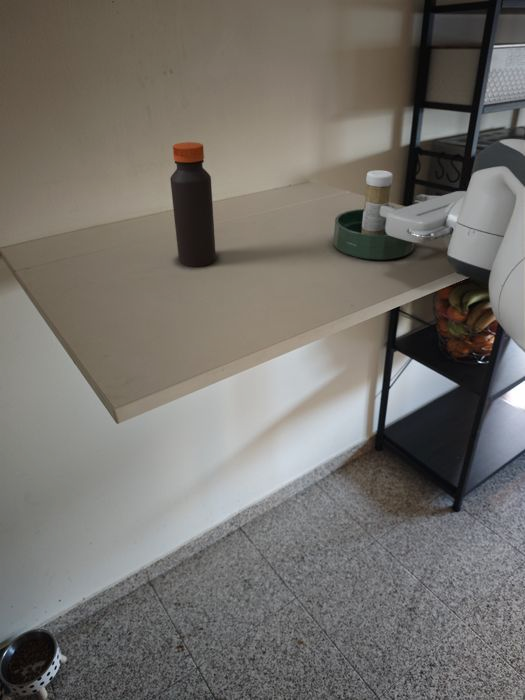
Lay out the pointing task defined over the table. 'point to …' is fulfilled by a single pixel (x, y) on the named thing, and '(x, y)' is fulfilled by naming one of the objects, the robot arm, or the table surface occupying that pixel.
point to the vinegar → (192, 206)
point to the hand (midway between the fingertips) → (400, 204)
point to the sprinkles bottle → (376, 201)
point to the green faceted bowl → (366, 239)
